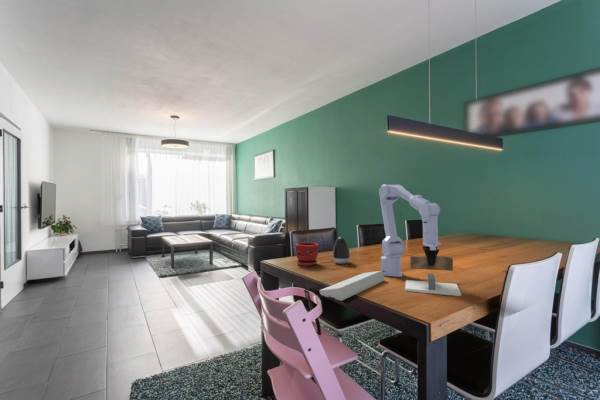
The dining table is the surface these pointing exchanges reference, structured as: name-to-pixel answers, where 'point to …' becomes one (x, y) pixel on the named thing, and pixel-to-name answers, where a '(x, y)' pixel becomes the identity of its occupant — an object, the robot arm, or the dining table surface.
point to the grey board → (439, 289)
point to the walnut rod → (440, 264)
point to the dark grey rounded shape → (341, 251)
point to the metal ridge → (431, 281)
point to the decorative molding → (353, 285)
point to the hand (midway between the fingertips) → (430, 264)
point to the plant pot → (306, 253)
